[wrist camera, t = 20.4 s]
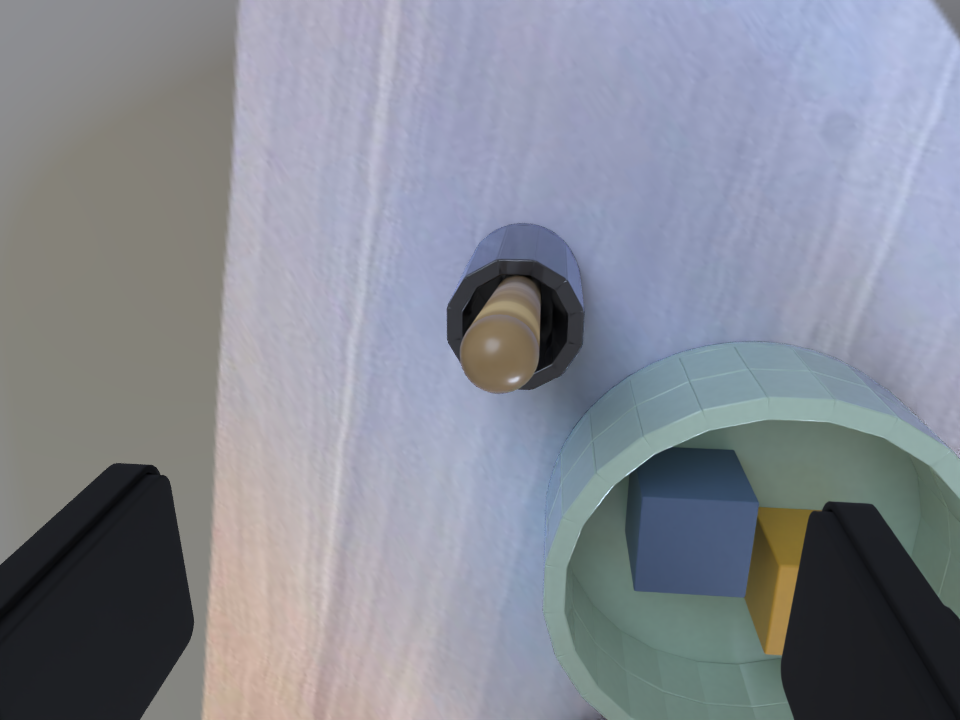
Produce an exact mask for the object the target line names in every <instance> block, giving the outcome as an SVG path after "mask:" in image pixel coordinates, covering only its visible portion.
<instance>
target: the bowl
mask: <svg viewBox="0 0 960 720" xmlns="http://www.w3.org/2000/svg"><path fill="white" fill-rule="evenodd" d="M670 447H679V448H702V449H725V450H734V451H735V453H736V455H737V457H738V459H739V461H740V463H741V466H742V468H743V470H744V472H745V474H746V476H747V478H748V480H749V482H750V485H751V487H752V489H753V491H754V493H755V495H756V497H757V499H758V501H759V507H770V508H789V509H808V510H822V509H823V507H824V505H825V503H827V502H828V501H833V502H852V503H869V504H873V505H874V506H875V507H876V508H877V510H878V511H879V513H880V514H881V515H882V517H883V518H884V520H885V521H886V523H887V524H888V525H889V527H890V528H891V530H892V531H893V533H894V534H895V535H896V537H897V538H898V540H899V541H900V543H901V544H902V546H903V547H904V548H905V550H906V551H907V553H908V554H909V556H910V557H911V558H912V560H913V561H914V563H915V564H916V566H917V567H918V568H919V570H920V571H921V573H922V574H923V576H924V577H925V578H926V580H927V581H928V583H929V584H930V586H931V587H932V589H933V590H934V591H935V593H936V594H937V596H938V597H939V599H940V600H941V601H942V603H943V604H944V605H945V606H947V607H949V608H950V609H951V610H952V611H953V612H954V613H955V614H956V615H957V616H958V617H959V619H960V459H959V457H958V456H957V455H956V454H955V453H954V452H953V451H952V450H951V449H950V448H949V447H948V446H947V445H946V444H945V443H944V442H943V441H942V440H941V439H940V438H939V437H938V436H937V435H935V434H934V433H933V432H932V431H931V430H930V429H929V428H928V427H927V426H926V425H925V424H924V423H923V422H922V421H921V420H920V419H918V418H917V417H916V416H915V415H914V414H913V413H912V412H911V411H910V410H909V409H908V408H907V407H906V406H905V405H904V404H903V403H902V402H901V401H899V400H898V399H897V398H896V397H895V396H894V395H893V394H892V393H891V392H890V391H888V390H887V389H886V388H884V387H882V386H881V385H880V384H878V383H877V382H875V381H874V380H873V379H871V378H870V377H869V376H867V375H866V374H864V373H863V372H862V371H860V370H858V369H856V368H854V367H852V366H850V365H848V364H847V363H845V362H843V361H841V360H839V359H837V358H834V357H831V356H828V355H825V354H823V353H820V352H817V351H814V350H811V349H806V348H802V347H797V346H793V345H788V344H780V343H770V342H759V341H758V342H729V343H722V344H716V345H709V346H703V347H699V348H695V349H692V350H688V351H684V352H681V353H677V354H674V355H672V356H669V357H667V358H664V359H662V360H660V361H657V362H655V363H652V364H650V365H648V366H647V367H645V368H643V369H641V370H639V371H637V372H636V373H634V374H632V375H630V376H629V377H627V378H626V379H624V380H623V381H622V382H620V383H619V384H617V385H616V386H615V387H613V388H612V389H610V390H609V391H608V392H607V393H606V394H605V395H604V396H602V397H601V398H600V399H599V400H598V401H597V402H596V403H595V404H594V405H593V406H592V407H591V408H590V409H589V410H588V411H587V412H586V414H585V415H584V416H583V417H582V418H581V420H580V421H579V422H578V423H577V425H576V426H575V427H574V429H573V430H572V432H571V434H570V435H569V437H568V438H567V440H566V442H565V443H564V445H563V447H562V449H561V451H560V454H559V456H558V458H557V460H556V463H555V465H554V468H553V471H552V475H551V479H550V482H549V486H548V491H547V497H546V513H545V541H544V579H543V615H544V618H545V622H546V625H547V629H548V632H549V636H550V639H551V643H552V646H553V650H554V654H555V655H556V658H557V660H558V661H559V663H560V664H561V666H562V668H563V669H564V671H565V672H566V674H567V675H568V677H569V678H570V680H571V681H572V683H573V685H574V686H575V688H576V689H577V691H578V692H579V694H580V695H581V696H582V698H583V699H584V700H585V701H586V702H588V703H589V704H590V705H591V706H592V707H593V708H594V709H595V710H597V711H598V712H599V713H600V714H601V715H602V716H603V717H604V718H606V719H607V720H794V718H793V715H792V712H791V709H790V706H789V703H788V701H787V698H786V695H785V692H784V689H783V685H782V680H781V658H782V655H768V654H765V653H764V651H763V649H762V646H761V643H760V640H759V638H758V635H757V632H756V629H755V626H754V624H753V621H752V618H751V615H750V613H749V610H748V607H747V604H746V601H745V599H744V598H740V597H723V596H707V595H690V594H673V593H657V592H640V591H634V588H633V581H632V574H631V568H630V561H629V554H628V548H627V541H626V534H625V523H626V510H627V498H628V485H629V474H630V473H631V472H632V471H634V470H635V469H636V468H638V467H639V466H640V465H642V464H643V463H644V462H645V461H647V460H648V459H649V458H651V457H652V456H653V455H655V454H657V453H659V452H661V451H664V450H666V449H668V448H670Z"/></svg>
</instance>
